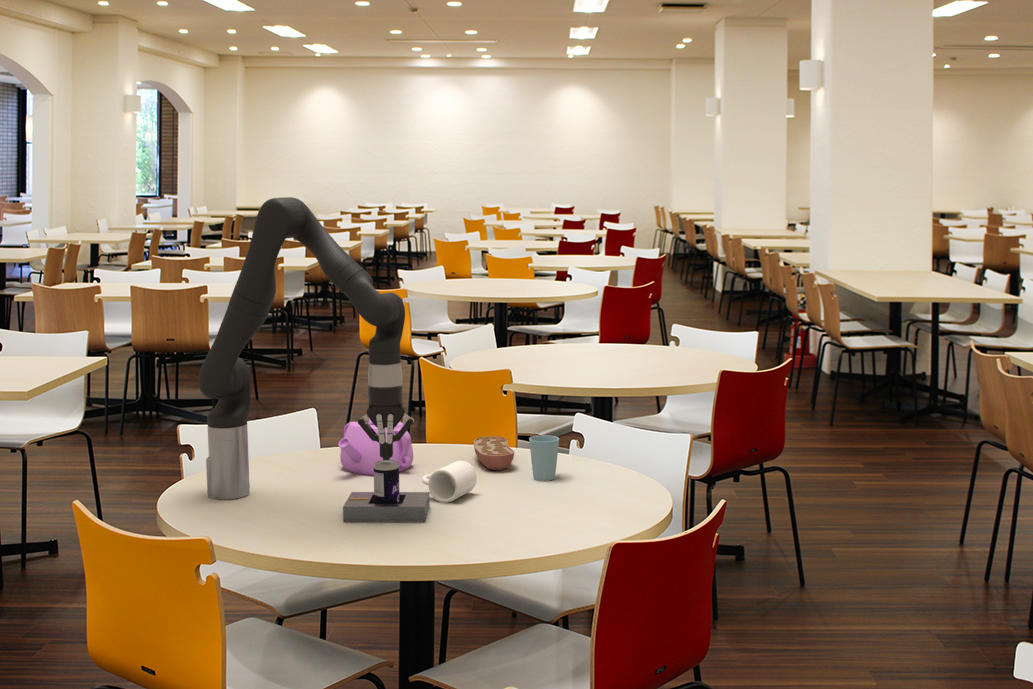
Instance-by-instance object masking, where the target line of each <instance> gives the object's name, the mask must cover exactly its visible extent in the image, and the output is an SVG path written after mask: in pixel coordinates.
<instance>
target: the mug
mask: <svg viewBox="0 0 1033 689" xmlns="http://www.w3.org/2000/svg"><path fill="white" fill-rule="evenodd" d="M477 481H478V478H477V472H476V470H475V468H474V467H473V466H472V464H470V463H469V462H467V461H465V460H456V461H454V462H452V463H450V464H447V465H445V466H443V467H441V468H439V469H436V470H435V471H434V472H432V473H427V474H424V475H423V476H422V478H421V483H422V484H424V485H426V486H428V492H430V495H431V496H432V497H433V499H435V500H436V501H438V502H440V503H443V504H445V503H446V504H448V503H450V502H453V501H454V500H456V499H459V498H460V497H462V496H463V495H466V494H468V493H470V492H472V490H474V488H475V487H476V485H477Z"/></svg>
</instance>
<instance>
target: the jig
mask: <svg viewBox="0 0 1033 689" xmlns="http://www.w3.org/2000/svg"><path fill="white" fill-rule="evenodd" d="M399 494H400V504H374V491H351V492H350V494H349V496H348V498H347V499H346V501H345V503H344V504H343V506H342V519H343V520H342V522H343V523H426V521H427V520H426V519H427V516H428V513H429V510H430V505H431V504H430V500H431V499H430V495H431V493H430V491H399Z"/></svg>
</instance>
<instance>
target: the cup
mask: <svg viewBox="0 0 1033 689" xmlns="http://www.w3.org/2000/svg"><path fill="white" fill-rule="evenodd" d="M528 439H529V448H530V449H529V450H530V459H531V468H532V470H531V471H532V477H533V480H535V481H539V482H540V481H541V482H548V481H552V480H553V481H554V480H555V479H556V472H557V464H558V454H559V445H560V438H559V436H555V435H545V434H542V435H534V436H530V437H529V438H528Z"/></svg>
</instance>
